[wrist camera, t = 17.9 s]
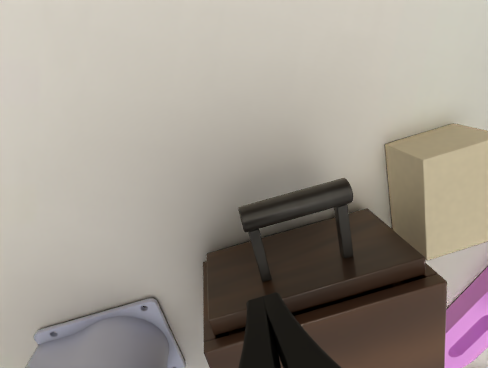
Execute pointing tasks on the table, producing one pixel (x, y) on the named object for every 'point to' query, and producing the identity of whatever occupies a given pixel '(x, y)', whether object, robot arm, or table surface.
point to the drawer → (306, 257)
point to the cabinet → (363, 328)
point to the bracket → (467, 324)
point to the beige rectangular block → (440, 189)
